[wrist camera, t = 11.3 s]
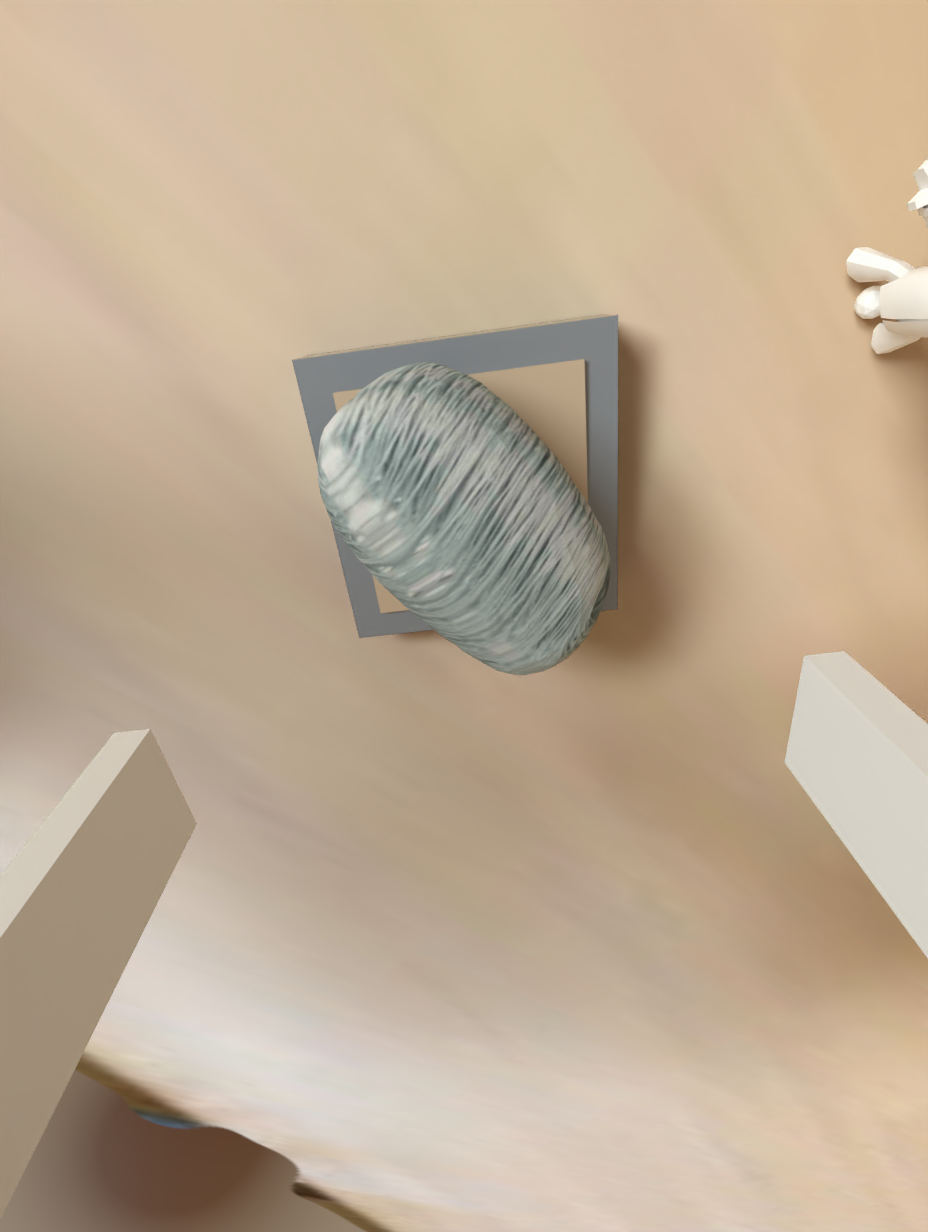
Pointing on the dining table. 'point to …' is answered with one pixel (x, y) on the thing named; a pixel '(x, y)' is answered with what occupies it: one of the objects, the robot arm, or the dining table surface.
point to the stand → (524, 379)
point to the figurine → (894, 286)
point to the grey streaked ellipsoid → (465, 517)
